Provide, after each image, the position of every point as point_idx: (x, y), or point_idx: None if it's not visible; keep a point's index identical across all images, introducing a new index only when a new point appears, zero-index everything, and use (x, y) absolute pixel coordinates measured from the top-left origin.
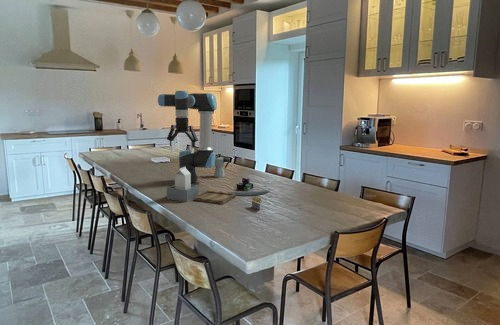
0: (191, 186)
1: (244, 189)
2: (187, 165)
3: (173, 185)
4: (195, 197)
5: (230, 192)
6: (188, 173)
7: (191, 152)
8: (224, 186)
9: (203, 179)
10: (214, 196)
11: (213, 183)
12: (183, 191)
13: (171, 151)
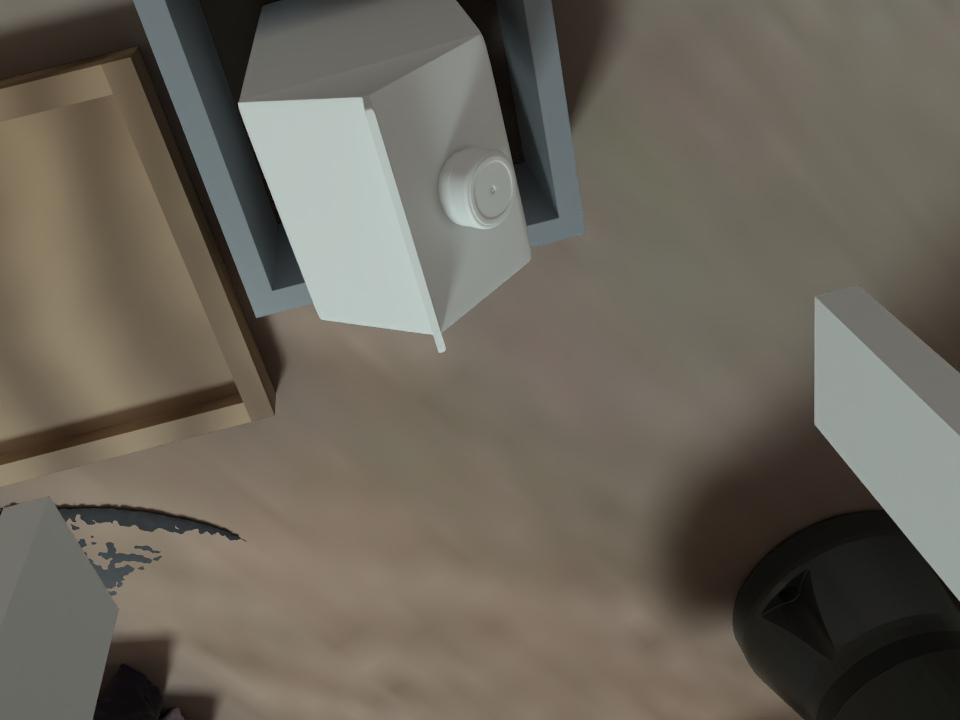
0: None
1: None
2: (896, 717)
3: (557, 66)
4: (97, 66)
5: (109, 569)
6: (306, 258)
7: (1, 527)
8: (355, 671)
9: (721, 705)
10: (28, 315)
11: (533, 676)
12: None
13: (847, 296)
